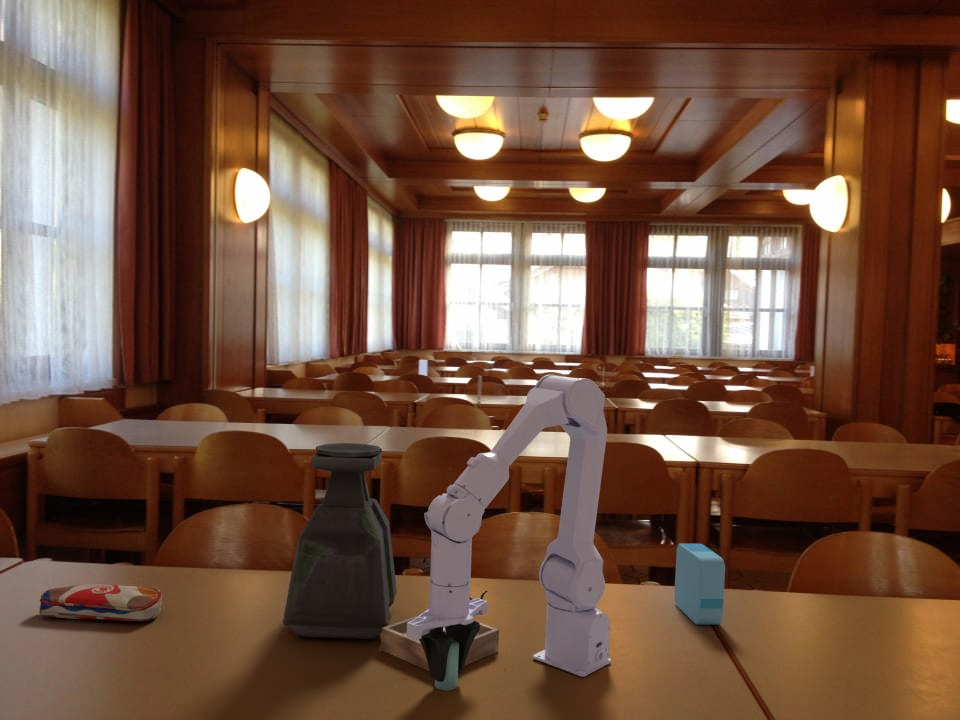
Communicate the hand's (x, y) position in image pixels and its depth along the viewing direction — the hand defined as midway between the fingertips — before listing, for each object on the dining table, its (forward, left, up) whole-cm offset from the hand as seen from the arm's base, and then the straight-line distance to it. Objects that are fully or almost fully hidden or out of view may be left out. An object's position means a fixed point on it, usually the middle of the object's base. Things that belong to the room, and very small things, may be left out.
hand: (446, 675), depth 112 cm
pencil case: (+58, +23, -2) cm, 63 cm away
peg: (0, 0, -1) cm, 1 cm away
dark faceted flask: (+28, -4, -2) cm, 28 cm away
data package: (-12, -54, -2) cm, 55 cm away
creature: (+17, -22, -2) cm, 28 cm away
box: (+9, -8, -1) cm, 12 cm away
